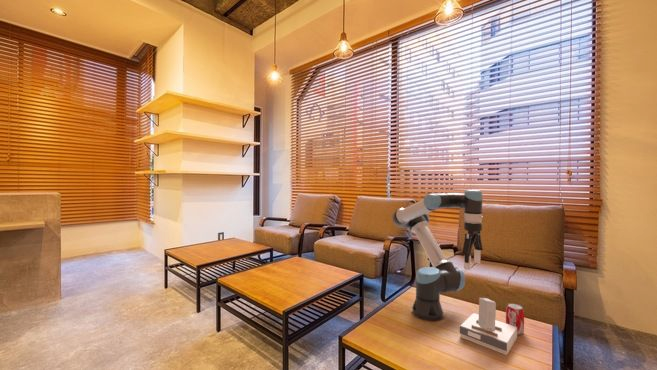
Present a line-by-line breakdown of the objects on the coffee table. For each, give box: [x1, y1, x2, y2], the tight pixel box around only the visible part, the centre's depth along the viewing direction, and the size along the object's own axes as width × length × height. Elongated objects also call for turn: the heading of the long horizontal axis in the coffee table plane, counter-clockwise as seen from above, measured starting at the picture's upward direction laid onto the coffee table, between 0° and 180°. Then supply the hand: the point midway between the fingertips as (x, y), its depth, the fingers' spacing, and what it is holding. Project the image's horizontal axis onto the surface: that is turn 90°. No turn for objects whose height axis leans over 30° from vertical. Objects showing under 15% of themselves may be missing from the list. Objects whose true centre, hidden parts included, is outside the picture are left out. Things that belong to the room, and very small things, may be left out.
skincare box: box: [478, 297, 497, 332], centre depth 121 cm, size 6×4×12 cm
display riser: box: [459, 312, 518, 356], centre depth 123 cm, size 18×18×6 cm
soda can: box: [505, 302, 525, 336], centre depth 128 cm, size 7×7×12 cm
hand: (472, 266), depth 134 cm, fingers open, 13 cm apart
